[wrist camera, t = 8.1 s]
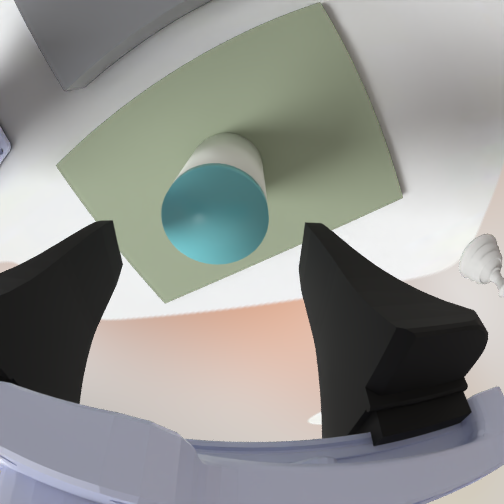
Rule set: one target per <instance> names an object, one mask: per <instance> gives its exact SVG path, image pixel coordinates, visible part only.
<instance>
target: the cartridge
mask: <svg viewBox="0 0 504 504" xmlns="http://www.w3.org/2000/svg"><path fill="white" fill-rule="evenodd" d="M161 218H162V224H163V228H164V231H165V233H166V235H167V237H168V239H169V240H170V241H171V243H172V244H173V245H174V246H175V247H176V248H177V249H178V250H179V251H180V252H181V253H183V254H184V255H186V256H187V257H189V258H191V259H193V260H196V261H199V262H202V263H206V264H218V265H219V264H228V263H233V262H236V261H239V260H241V259H243V258H245V257H247V256H248V255H250V254H251V253H252V252H254V251H255V250H256V249H257V248H258V246H259V245H260V244H261V242H262V241H263V239H264V237H265V235H266V232H267V229H268V225H269V212H268V204H267V195H266V187H265V179H264V172H263V164H262V159H261V156H260V153H259V151H258V150H257V148H256V147H255V146H254V144H253V143H252V142H250V141H249V140H248V139H246V138H244V137H242V136H240V135H237V134H233V133H220V134H216V135H213V136H210V137H209V138H207V139H205V140H204V141H203V142H202V143H201V144H200V145H199V146H198V147H197V148H196V150H195V151H194V153H193V154H192V155H191V157H190V158H189V160H188V161H187V163H186V164H185V166H184V167H183V169H182V170H181V172H180V173H179V175H178V176H177V178H176V179H175V181H174V182H173V184H172V185H171V187H170V188H169V190H168V192H167V193H166V195H165V197H164V200H163V204H162V209H161Z"/></svg>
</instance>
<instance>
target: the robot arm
mask: <svg viewBox="0 0 504 504" xmlns="http://www.w3.org/2000/svg"><path fill="white" fill-rule="evenodd" d="M2 149H3V151H2ZM10 149H11V145H10V142H9V141H8V139H7V137H6V135H5V134H4V132H3V130H2V128H1V127H0V164H1V162H2V161H3V159H4V158H5V157H6V155H7V154H8V153H9V151H10ZM122 265H123V263H122V259H121V255H120V251H119V246H118V242H117V237H116V232H115V228H114V223H113V220H102V221H97V222H95V223H92V224H90V225H88V226H87V227H85V228H83V229H81V230H79V231H78V232H76V233H74V234H73V235H71V236H69V237H68V238H66V239H64V240H63V241H61V242H59V243H58V244H56V245H54V246H53V247H51V248H49V249H48V250H46V251H44V252H42V253H41V254H39V255H37V256H35V257H34V258H32V259H30V260H28V261H26V262H24V263H22V264H20V265H18V266H16V267H14V268H11V269H9V270H6V271H4V272H2V273H0V470H1V474H0V504H426V503H429V502H431V501H434V500H436V499H439V498H441V497H443V496H446V495H448V494H450V493H453V492H455V491H457V490H459V489H461V488H463V487H465V486H468V485H470V484H471V483H473V482H476V481H477V480H479V479H481V478H483V477H484V476H486V475H488V474H490V473H491V472H493V471H494V470H496V469H498V468H499V467H501V466H502V465H504V396H503V393H502V391H501V389H500V387H494V388H491V389H488V390H486V391H483V392H480V393H478V394H475V395H473V396H472V397H470V398H468V399H466V397H465V395H464V392H463V391H465V390H466V389H467V387H468V385H467V383H466V380H465V378H464V376H465V375H466V374H467V373H468V372H469V370H470V369H471V368H472V367H473V365H474V364H475V363H476V361H477V360H478V359H479V357H480V356H481V354H482V353H483V351H484V349H485V346H486V344H487V340H488V332H487V330H486V328H485V327H484V325H483V323H482V322H481V320H480V318H479V317H478V315H477V314H476V312H475V311H474V310H471V309H468V308H465V307H462V306H459V305H456V304H453V303H449V302H446V301H444V300H441V299H439V298H436V297H434V296H432V295H429V294H427V293H424V292H422V291H420V290H418V289H416V288H414V287H412V286H410V285H408V284H406V283H404V282H402V281H401V280H399V279H397V278H395V277H393V276H392V275H390V274H389V273H387V272H385V271H384V270H382V269H381V268H379V267H377V266H376V265H375V264H373V263H372V262H370V261H369V260H368V259H366V258H365V257H363V256H362V255H361V254H359V253H358V252H357V251H356V250H354V249H353V248H352V247H351V246H349V245H348V244H347V243H346V242H344V241H343V240H342V239H341V238H340V237H339V236H337V235H336V234H335V233H334V232H333V231H331V230H330V229H329V228H328V227H326V226H325V225H324V224H322V223H308V222H305V226H304V234H303V241H302V249H301V256H300V263H299V275H300V284H301V291H302V295H303V299H304V303H305V307H306V311H307V315H308V318H309V322H310V326H311V330H312V334H313V338H314V343H315V348H316V355H317V364H318V372H319V384H320V396H321V414H322V439H313V440H300V441H281V442H224V441H206V440H193V439H184V438H183V437H182V436H180V435H179V434H178V433H177V432H175V431H172V430H170V429H167V428H165V427H163V426H160V425H158V424H156V423H154V422H151V421H148V420H144V419H140V418H136V417H132V416H129V415H125V414H122V413H118V412H113V411H108V410H103V409H98V408H94V407H89V406H85V405H80V404H79V403H80V395H81V388H82V382H83V376H84V372H85V367H86V362H87V358H88V354H89V350H90V347H91V343H92V340H93V337H94V334H95V331H96V329H97V326H98V324H99V322H100V320H101V317H102V315H103V313H104V311H105V309H106V307H107V304H108V302H109V300H110V298H111V296H112V294H113V291H114V289H115V287H116V285H117V282H118V279H119V276H120V272H121V269H122Z"/></svg>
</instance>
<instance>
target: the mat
mask: <svg viewBox="0 0 504 504" xmlns="http://www.w3.org/2000/svg"><path fill="white" fill-rule="evenodd" d="M220 133H233V134H237V135H240V136H242V137H244V138H246V139H248V140H249V141H250V142H252V143H253V144H254V146H255V147H256V148H257V150H258V151H259V153H260V156H261V159H262V164H263V172H264V179H265V187H266V195H267V204H268V212H269V225H268V229H267V232H266V235H265V237H264V239H263V241H262V242H261V244H260V245H259V246H258V248H257V249H256V250H255V251H254V252H252V253H251V254H250V255H248V256H247V257H245V258H243V259H241V260H239V261H236V262H233V263H228V264H219V265H218V264H206V263H202V262H199V261H196V260H193V259H191V258H189V257H187V256H186V255H184V254H183V253H181V252H180V251H179V250H178V249H177V248H176V247H175V246H174V245H173V244H172V243H171V241H170V240H169V239H168V237H167V235H166V233H165V231H164V228H163V224H162V218H161V209H162V204H163V200H164V197H165V195H166V193H167V192H168V190H169V188H170V187H171V185H172V184H173V182H174V181H175V179H176V178H177V176H178V175H179V173H180V172H181V170H182V169H183V167H184V166H185V164H186V163H187V161H188V160H189V158H190V157H191V155H192V154H193V153H194V151H195V150H196V148H197V147H198V146H199V145H200V144H201V143H202V142H203V141H204V140H205V139H207V138H209V137H210V136H213V135H216V134H220ZM56 166H57V168H58V169H59V171H60V172H61V174H62V175H63V177H64V178H65V180H66V181H67V182H68V184H69V185H70V187H71V188H72V190H73V191H74V192H75V194H76V195H77V196H78V198H79V199H80V201H81V202H82V203H83V205H84V206H85V207H86V209H87V210H88V211H89V213H90V214H91V215H92V217H93V218H94V219H95V221H96V222H97V221H102V220H113V223H114V228H115V232H116V237H117V242H118V246H119V251H120V252H121V253H122V255H123V256H124V257H125V258H126V259H127V261H128V262H129V263H130V264H131V265H132V266H133V268H134V269H135V270H136V271H137V272H138V274H139V275H140V276H141V277H142V278H143V279H144V280H145V282H146V283H147V284H148V285H149V286H150V287H151V288H152V290H153V291H154V292H155V293H156V294H157V295H158V296H159V297H160V298H161V300H162V301H163V302H164V303H167V302H170V301H172V300H174V299H177V298H179V297H181V296H184V295H186V294H188V293H191V292H193V291H195V290H198V289H200V288H202V287H205V286H207V285H209V284H211V283H214V282H216V281H218V280H221V279H223V278H225V277H228V276H230V275H232V274H234V273H237V272H239V271H241V270H244V269H246V268H248V267H250V266H253V265H255V264H257V263H259V262H262V261H264V260H266V259H269V258H271V257H273V256H275V255H278V254H280V253H282V252H284V251H287V250H289V249H291V248H293V247H296V246H298V245H300V244H302V241H303V234H304V226H305V222H308V223H322V224H324V225H325V226H326V227H328V228H329V229H330V230H333V229H336V228H338V227H340V226H342V225H345V224H347V223H349V222H351V221H353V220H356V219H358V218H360V217H362V216H364V215H367V214H369V213H371V212H373V211H375V210H378V209H380V208H382V207H384V206H386V205H388V204H391V203H393V202H395V201H397V200H399V199H402V198H403V196H402V192H401V189H400V185H399V182H398V178H397V175H396V172H395V168H394V165H393V162H392V159H391V156H390V153H389V150H388V147H387V144H386V141H385V138H384V136H383V133H382V130H381V127H380V125H379V122H378V119H377V117H376V114H375V112H374V109H373V107H372V104H371V102H370V99H369V97H368V95H367V92H366V90H365V88H364V85H363V83H362V81H361V79H360V76H359V74H358V72H357V70H356V68H355V66H354V64H353V62H352V59H351V57H350V55H349V53H348V51H347V49H346V47H345V46H344V44H343V42H342V40H341V38H340V36H339V34H338V32H337V30H336V29H335V27H334V25H333V23H332V21H331V20H330V18H329V16H328V14H327V13H326V11H325V9H324V8H323V6H322V4H321V3H320V2H319V3H316V4H313V5H310V6H307V7H304V8H302V9H299V10H296V11H293V12H291V13H288V14H286V15H283V16H281V17H278V18H276V19H273V20H271V21H268V22H266V23H264V24H262V25H259V26H257V27H255V28H253V29H250V30H248V31H246V32H244V33H242V34H240V35H238V36H236V37H234V38H232V39H230V40H228V41H226V42H224V43H222V44H220V45H218V46H216V47H215V48H213V49H211V50H209V51H207V52H205V53H204V54H202V55H200V56H198V57H197V58H195V59H193V60H192V61H190V62H188V63H186V64H185V65H183V66H182V67H180V68H178V69H177V70H175V71H174V72H172V73H170V74H169V75H167V76H166V77H164V78H163V79H161V80H160V81H158V82H157V83H155V84H154V85H152V86H151V87H149V88H148V89H147V90H145V91H144V92H142V93H141V94H140V95H138V96H137V97H135V98H134V99H133V100H131V101H130V102H129V103H127V104H126V105H125V106H123V107H122V108H121V109H119V110H118V111H117V112H116V113H114V114H113V115H112V116H111V117H109V118H108V119H107V120H106V121H104V122H103V123H102V124H101V125H100V126H98V127H97V128H96V129H95V130H94V131H93V132H91V133H90V134H89V135H88V136H87V137H86V138H85V139H83V140H82V141H81V142H80V143H79V144H78V145H77V146H76V147H75V148H74V149H72V150H71V151H70V152H69V153H68V154H67V155H66V156H65V157H64V158H63V159H62V160H61V161H60V162H59V163H58V164H57V165H56Z"/></svg>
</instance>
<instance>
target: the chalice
mask: <svg viewBox="0 0 504 504" xmlns="http://www.w3.org/2000/svg"><path fill="white" fill-rule="evenodd" d="M501 267H502V256H501V253H500V250H499V247H498V246H497V242H496V239H495V238H494V236H493V235H490V234H484V235H481V236H479V237H477V238H475V239H474V240H473V241H472V242H471V243H470V244H469V245H468V246H467V248H466V249H465V250H464V252H463V254H462V256H461V259H460V263H459V271H460V274H461V275H462V276H463V277H464V278H469V279H470V280H472V281H475V282H476V283H477V284H487V283H490V282H493V283H495V284H496V286H497V288H498V290H499V293H498V296H499V297H504V278H503V277H502V276H501V274H500V270H501Z"/></svg>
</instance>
